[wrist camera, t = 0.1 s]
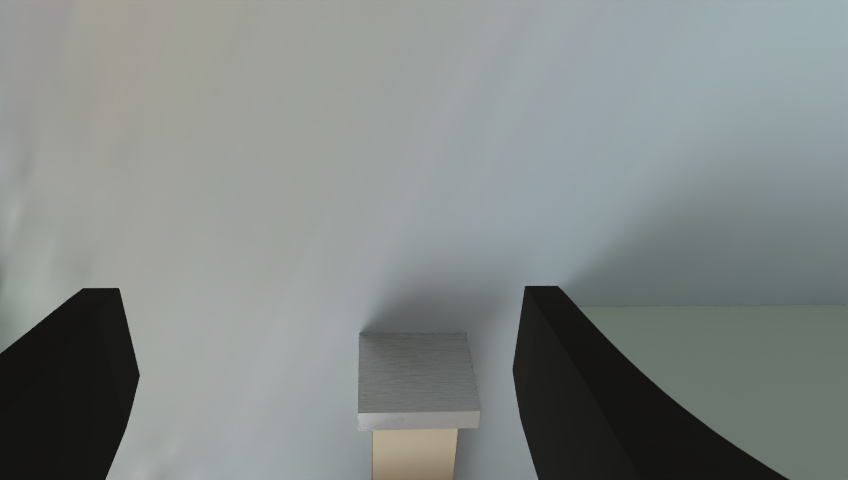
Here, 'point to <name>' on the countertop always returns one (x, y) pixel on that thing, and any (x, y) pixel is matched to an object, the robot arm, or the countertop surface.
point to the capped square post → (415, 402)
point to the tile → (749, 375)
